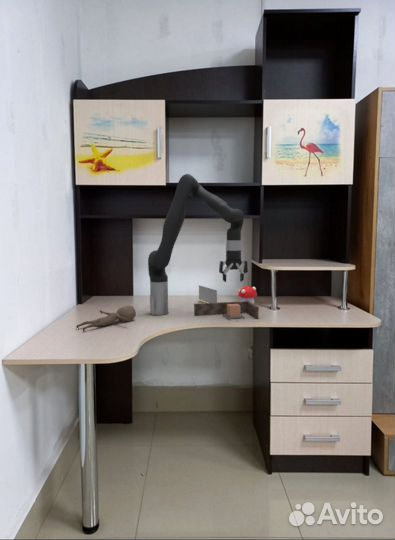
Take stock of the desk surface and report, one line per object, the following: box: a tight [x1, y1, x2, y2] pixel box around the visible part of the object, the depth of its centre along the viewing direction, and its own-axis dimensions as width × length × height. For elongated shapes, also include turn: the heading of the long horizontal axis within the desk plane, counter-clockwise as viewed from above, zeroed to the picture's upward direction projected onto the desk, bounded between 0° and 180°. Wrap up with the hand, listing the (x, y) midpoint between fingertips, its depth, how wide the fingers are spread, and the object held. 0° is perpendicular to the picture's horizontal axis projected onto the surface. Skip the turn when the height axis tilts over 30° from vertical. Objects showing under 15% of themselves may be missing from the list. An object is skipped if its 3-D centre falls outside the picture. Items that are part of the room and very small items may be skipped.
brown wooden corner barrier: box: [193, 300, 260, 320], centre depth 214 cm, size 30×15×6 cm, turn 102°
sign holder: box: [197, 284, 218, 303], centre depth 244 cm, size 21×2×10 cm, turn 29°
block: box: [227, 304, 242, 317], centre depth 214 cm, size 6×6×6 cm
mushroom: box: [237, 285, 258, 304], centre depth 236 cm, size 11×11×12 cm
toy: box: [75, 305, 137, 332], centre depth 200 cm, size 26×8×30 cm
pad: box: [222, 314, 246, 320], centre depth 214 cm, size 9×9×1 cm
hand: (233, 281), depth 212 cm, fingers open, 8 cm apart
